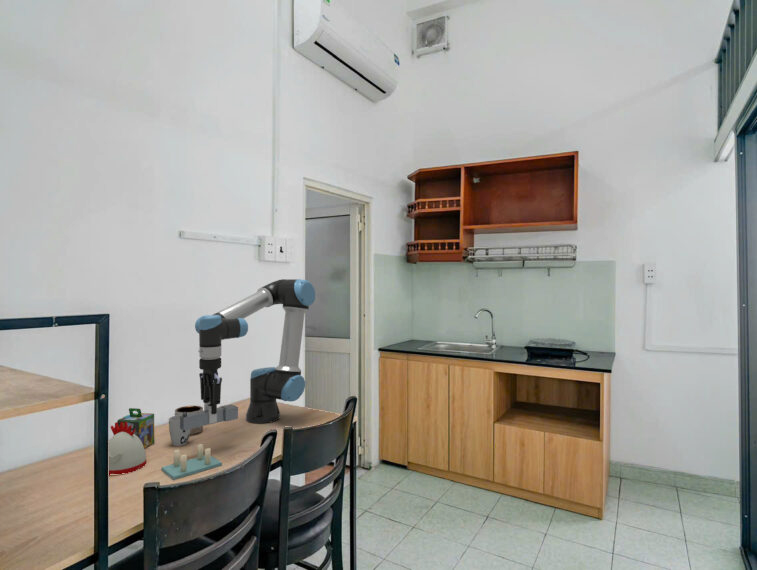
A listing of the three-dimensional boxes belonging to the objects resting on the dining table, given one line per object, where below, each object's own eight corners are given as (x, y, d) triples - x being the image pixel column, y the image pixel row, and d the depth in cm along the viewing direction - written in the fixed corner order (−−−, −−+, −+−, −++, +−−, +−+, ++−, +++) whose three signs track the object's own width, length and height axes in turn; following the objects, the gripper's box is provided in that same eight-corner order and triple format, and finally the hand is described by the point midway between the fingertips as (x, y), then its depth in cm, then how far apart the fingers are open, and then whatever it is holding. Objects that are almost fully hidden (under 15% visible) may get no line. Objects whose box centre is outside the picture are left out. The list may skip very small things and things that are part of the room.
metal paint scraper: (231, 415, 170) (231, 401, 170) (238, 418, 166) (238, 403, 166) (178, 427, 155) (179, 411, 155) (184, 431, 152) (184, 414, 152)
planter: (168, 434, 179) (168, 410, 179) (188, 426, 189) (189, 404, 189) (188, 438, 175) (188, 414, 175) (208, 430, 185) (208, 407, 185)
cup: (182, 448, 164) (183, 421, 164) (163, 446, 166) (163, 420, 166) (195, 441, 172) (196, 415, 172) (177, 439, 174) (177, 413, 174)
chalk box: (155, 443, 169) (155, 404, 169) (139, 452, 160) (139, 411, 160) (132, 441, 170) (133, 403, 170) (115, 450, 161) (116, 410, 161)
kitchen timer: (115, 457, 155) (116, 415, 155) (154, 459, 154) (155, 416, 154) (88, 474, 141) (89, 428, 141) (130, 476, 140) (131, 429, 140)
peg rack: (208, 457, 157) (208, 440, 157) (221, 465, 150) (222, 447, 150) (161, 470, 145) (161, 452, 145) (173, 479, 138) (173, 460, 138)
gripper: (190, 356, 164) (190, 418, 164) (210, 362, 152) (210, 429, 153) (210, 353, 169) (210, 414, 169) (230, 359, 158) (230, 424, 158)
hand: (210, 421), depth 161 cm, fingers closed on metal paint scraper, 3 cm apart
